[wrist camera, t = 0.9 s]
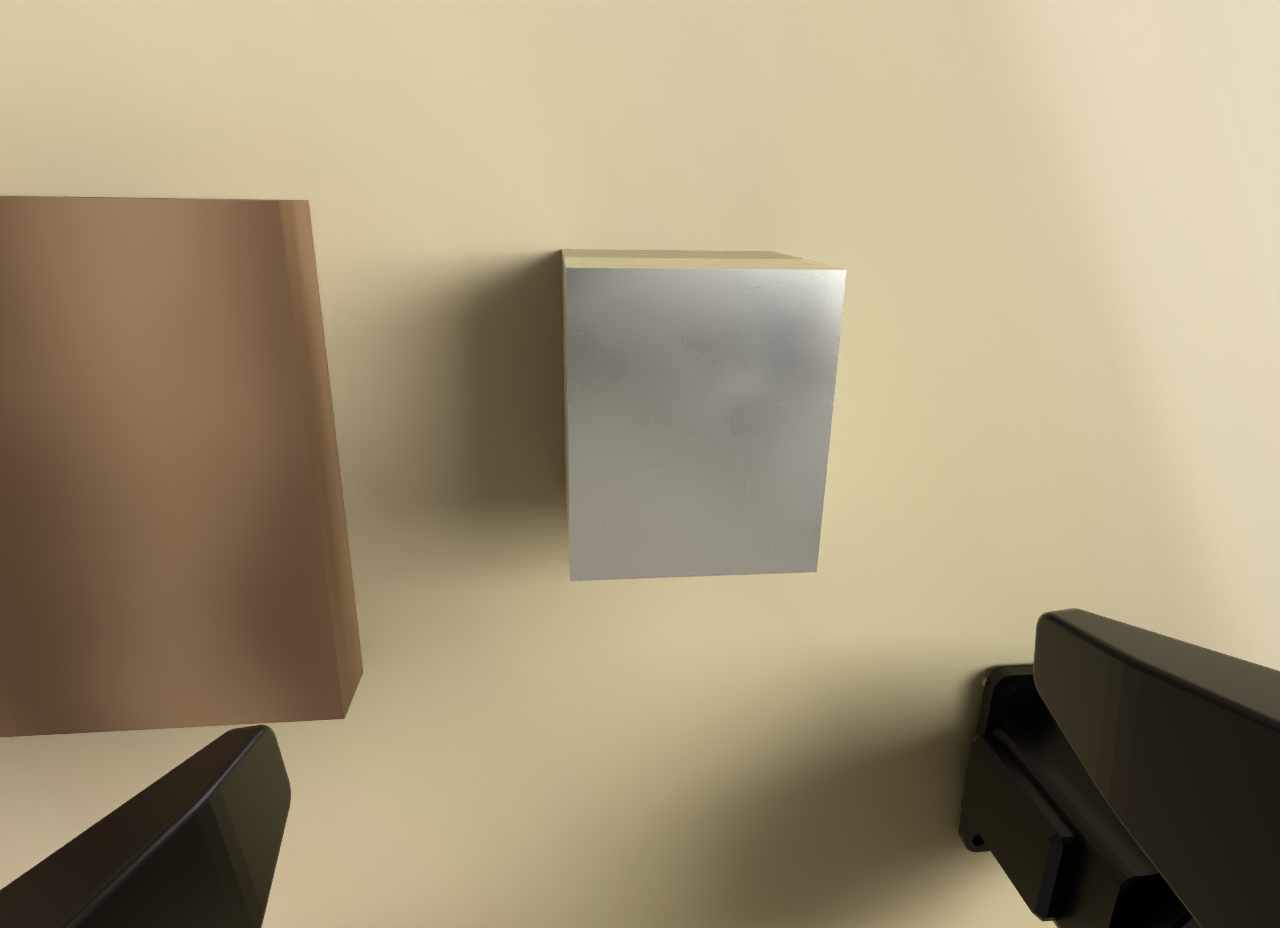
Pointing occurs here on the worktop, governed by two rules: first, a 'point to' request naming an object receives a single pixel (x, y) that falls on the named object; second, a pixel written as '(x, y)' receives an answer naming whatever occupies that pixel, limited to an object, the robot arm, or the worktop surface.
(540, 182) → the worktop surface
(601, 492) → the block
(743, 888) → the worktop surface
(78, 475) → the walnut stand
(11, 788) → the worktop surface
